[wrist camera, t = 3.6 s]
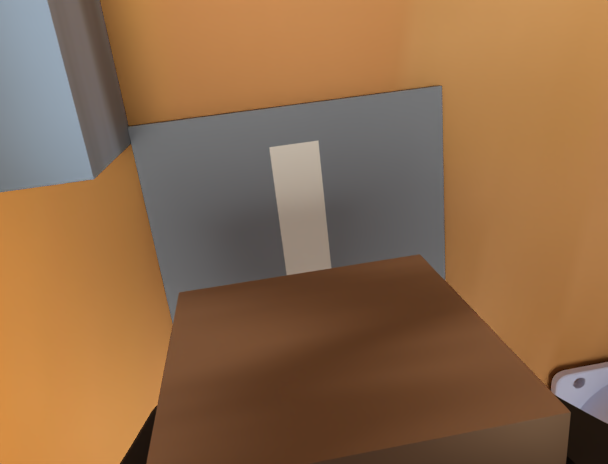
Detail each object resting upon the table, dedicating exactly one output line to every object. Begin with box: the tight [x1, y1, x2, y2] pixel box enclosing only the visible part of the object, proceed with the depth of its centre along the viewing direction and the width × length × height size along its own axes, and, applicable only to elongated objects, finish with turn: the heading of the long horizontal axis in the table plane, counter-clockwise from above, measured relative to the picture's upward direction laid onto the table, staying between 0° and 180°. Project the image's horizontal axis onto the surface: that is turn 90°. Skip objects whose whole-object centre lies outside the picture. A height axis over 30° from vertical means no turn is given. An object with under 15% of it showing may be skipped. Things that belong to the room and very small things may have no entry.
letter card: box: [127, 86, 445, 323], centre depth 18 cm, size 10×10×1 cm
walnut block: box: [146, 254, 571, 464], centre depth 9 cm, size 5×5×5 cm
